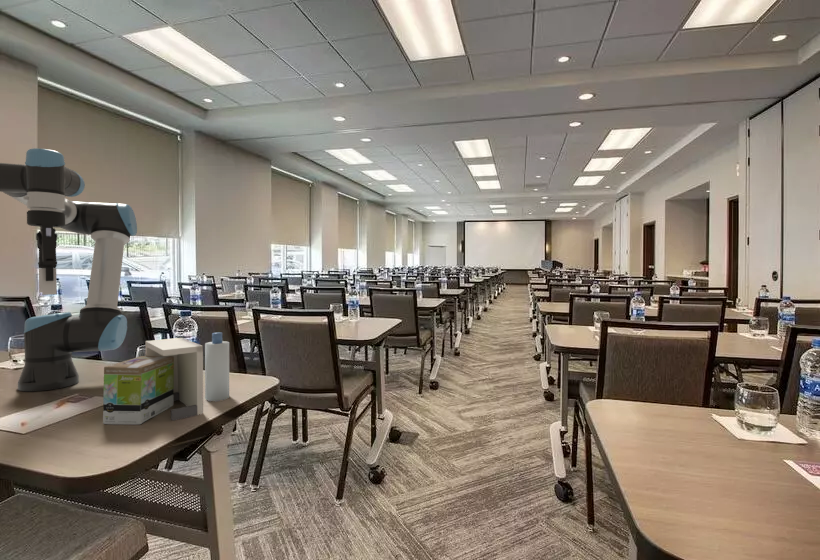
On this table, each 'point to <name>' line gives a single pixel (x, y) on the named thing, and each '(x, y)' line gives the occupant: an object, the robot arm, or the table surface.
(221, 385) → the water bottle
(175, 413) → the rails
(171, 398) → the tea box
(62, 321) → the robot arm
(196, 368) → the shelf
